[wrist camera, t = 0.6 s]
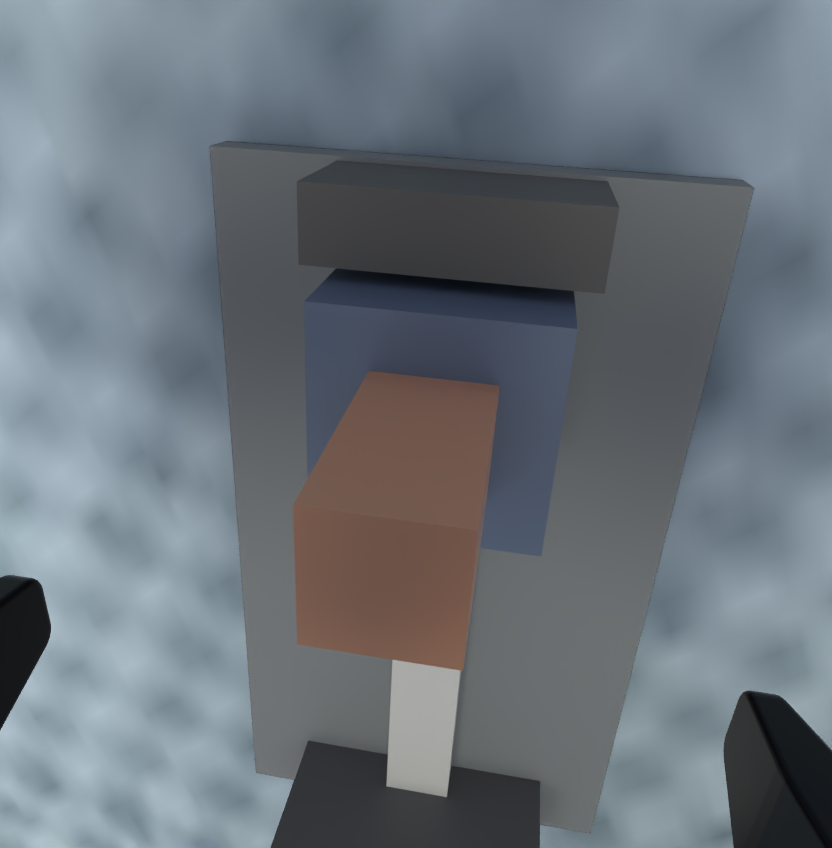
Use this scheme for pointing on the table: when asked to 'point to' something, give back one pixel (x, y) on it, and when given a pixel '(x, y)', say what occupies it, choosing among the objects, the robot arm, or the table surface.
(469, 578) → the traveler car
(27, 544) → the table surface
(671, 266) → the traveler track
